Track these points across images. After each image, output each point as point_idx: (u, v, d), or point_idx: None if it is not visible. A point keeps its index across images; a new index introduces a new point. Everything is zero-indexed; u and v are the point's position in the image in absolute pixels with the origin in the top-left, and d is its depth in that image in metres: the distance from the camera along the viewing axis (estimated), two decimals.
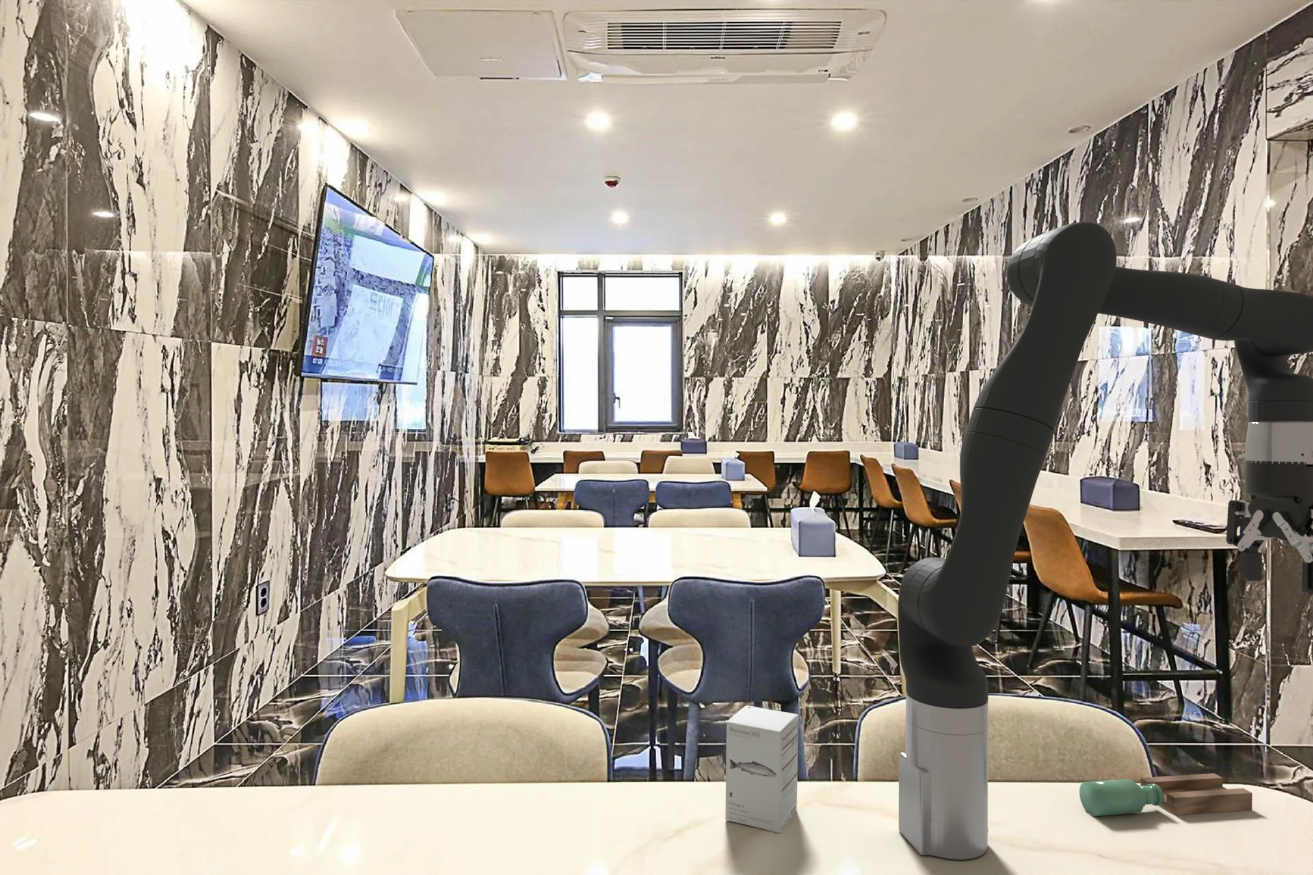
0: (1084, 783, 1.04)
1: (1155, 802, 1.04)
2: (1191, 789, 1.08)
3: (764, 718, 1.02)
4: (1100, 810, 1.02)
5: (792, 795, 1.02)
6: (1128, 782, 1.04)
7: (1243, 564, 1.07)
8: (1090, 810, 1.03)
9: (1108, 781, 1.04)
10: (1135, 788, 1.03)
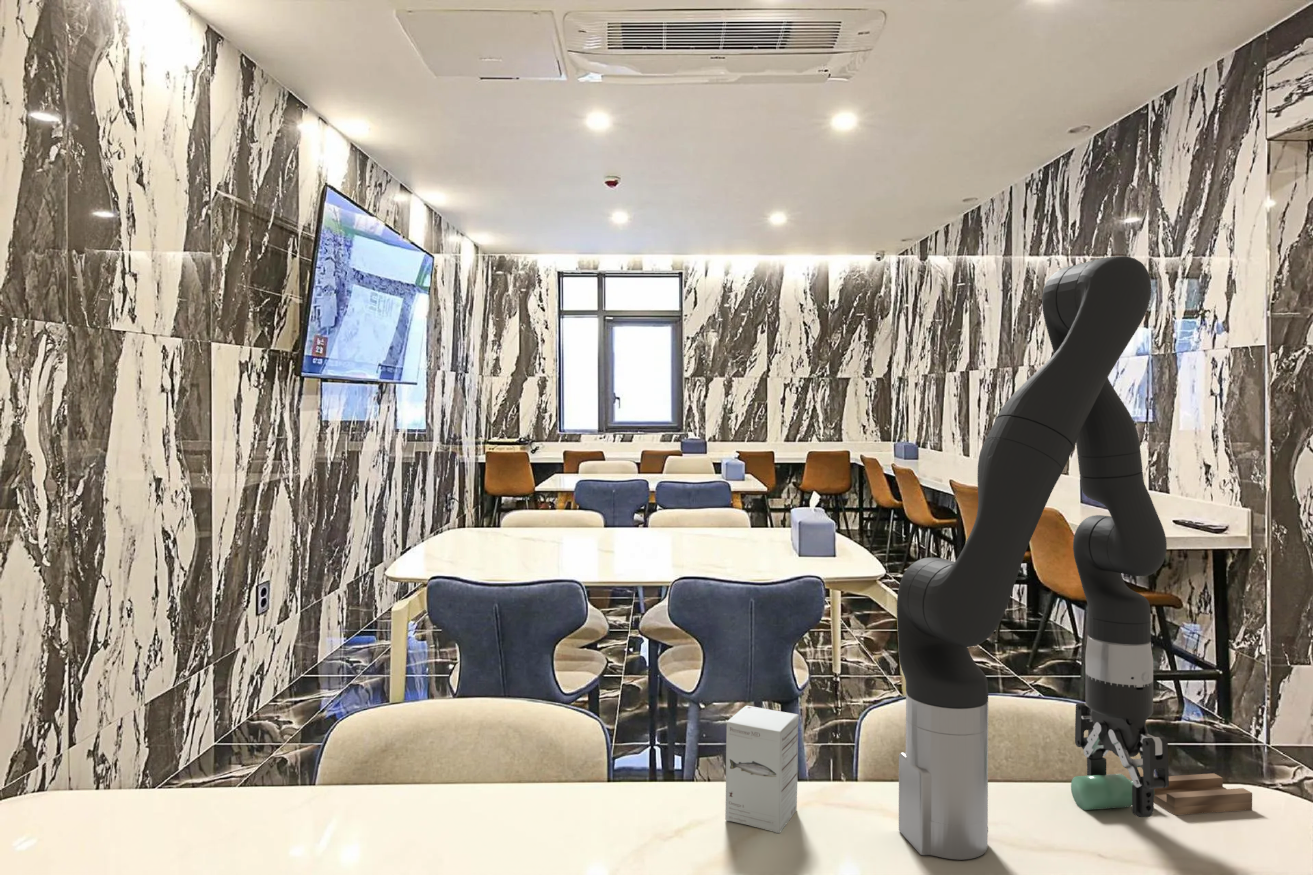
0: (1071, 785, 1.07)
1: None
2: (1191, 789, 1.08)
3: (764, 718, 1.02)
4: (1090, 790, 1.03)
5: (792, 795, 1.02)
6: None
7: (1088, 770, 1.08)
8: (1087, 803, 1.04)
9: None
10: (1117, 774, 1.06)
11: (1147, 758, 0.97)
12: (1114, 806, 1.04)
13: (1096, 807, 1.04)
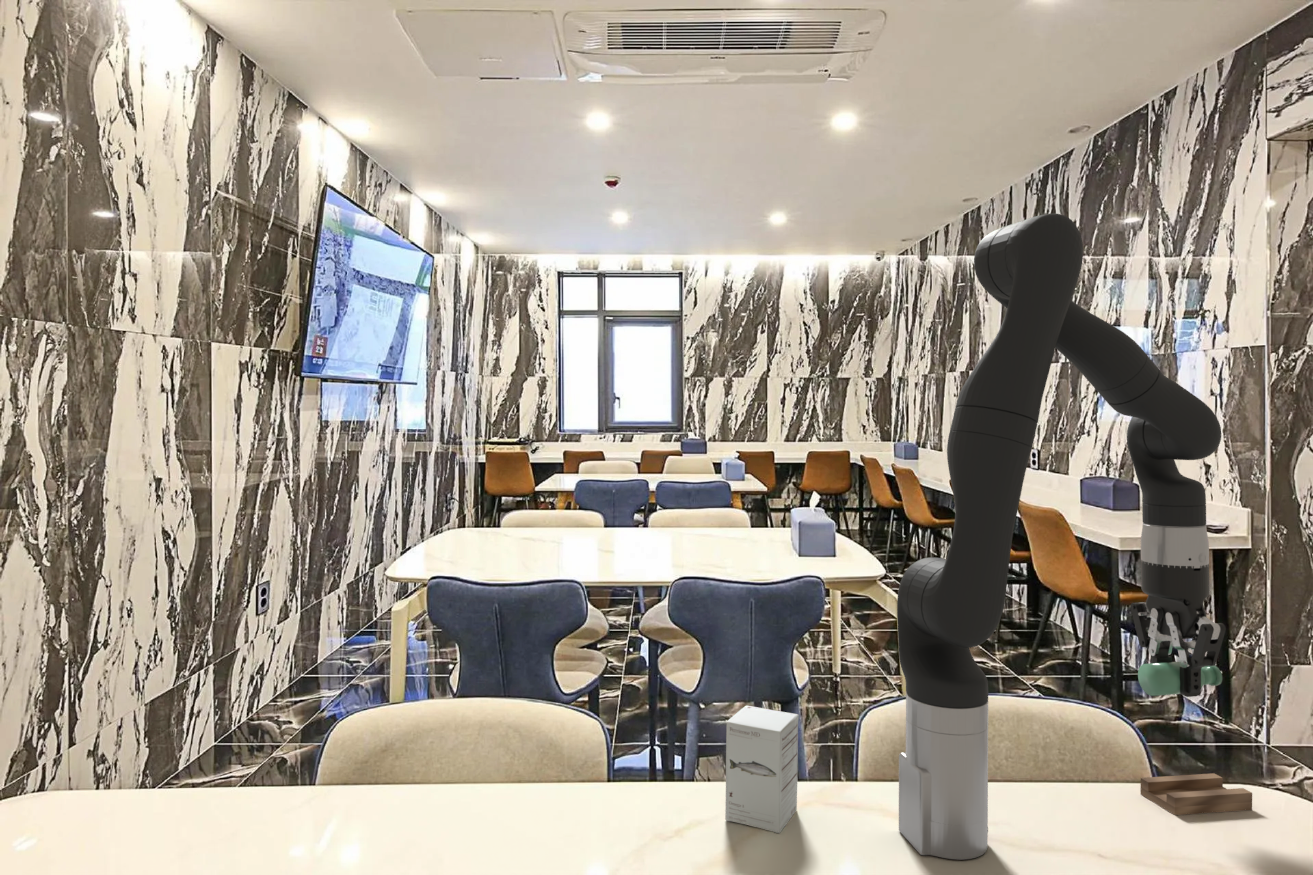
0: (1143, 665, 1.06)
1: (1213, 682, 1.06)
2: (1191, 789, 1.08)
3: (764, 718, 1.02)
4: (1161, 689, 1.04)
5: (792, 795, 1.02)
6: None
7: None
8: (1150, 691, 1.05)
9: (1166, 662, 1.06)
10: None
11: (1201, 641, 1.00)
12: None
13: None
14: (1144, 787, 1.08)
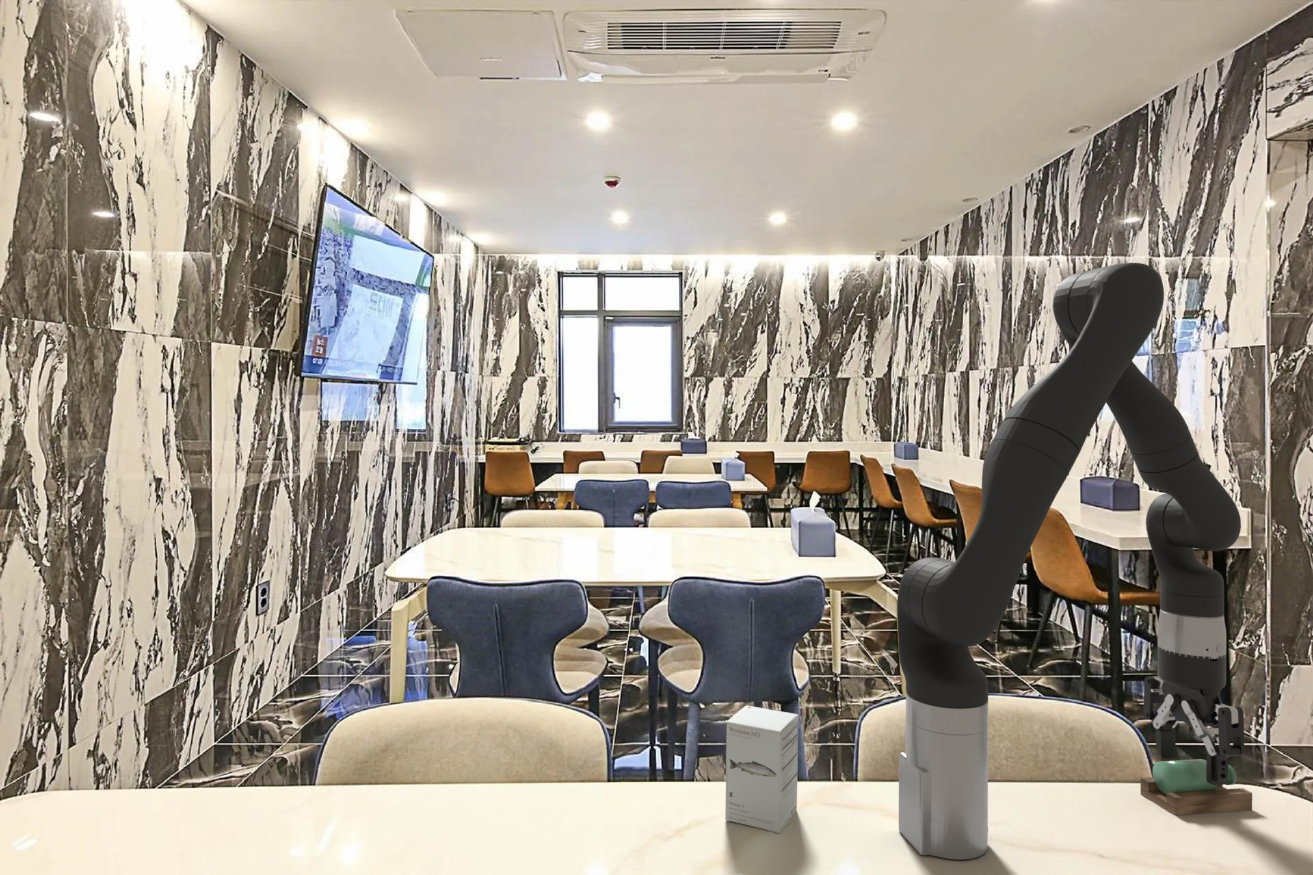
0: (1158, 763, 1.07)
1: (1227, 781, 1.06)
2: None
3: (764, 718, 1.02)
4: (1176, 788, 1.04)
5: (792, 795, 1.02)
6: (1201, 762, 1.06)
7: (1158, 741, 1.11)
8: (1164, 789, 1.06)
9: (1181, 761, 1.07)
10: None
11: (1223, 726, 1.00)
12: None
13: None
14: (1144, 787, 1.08)
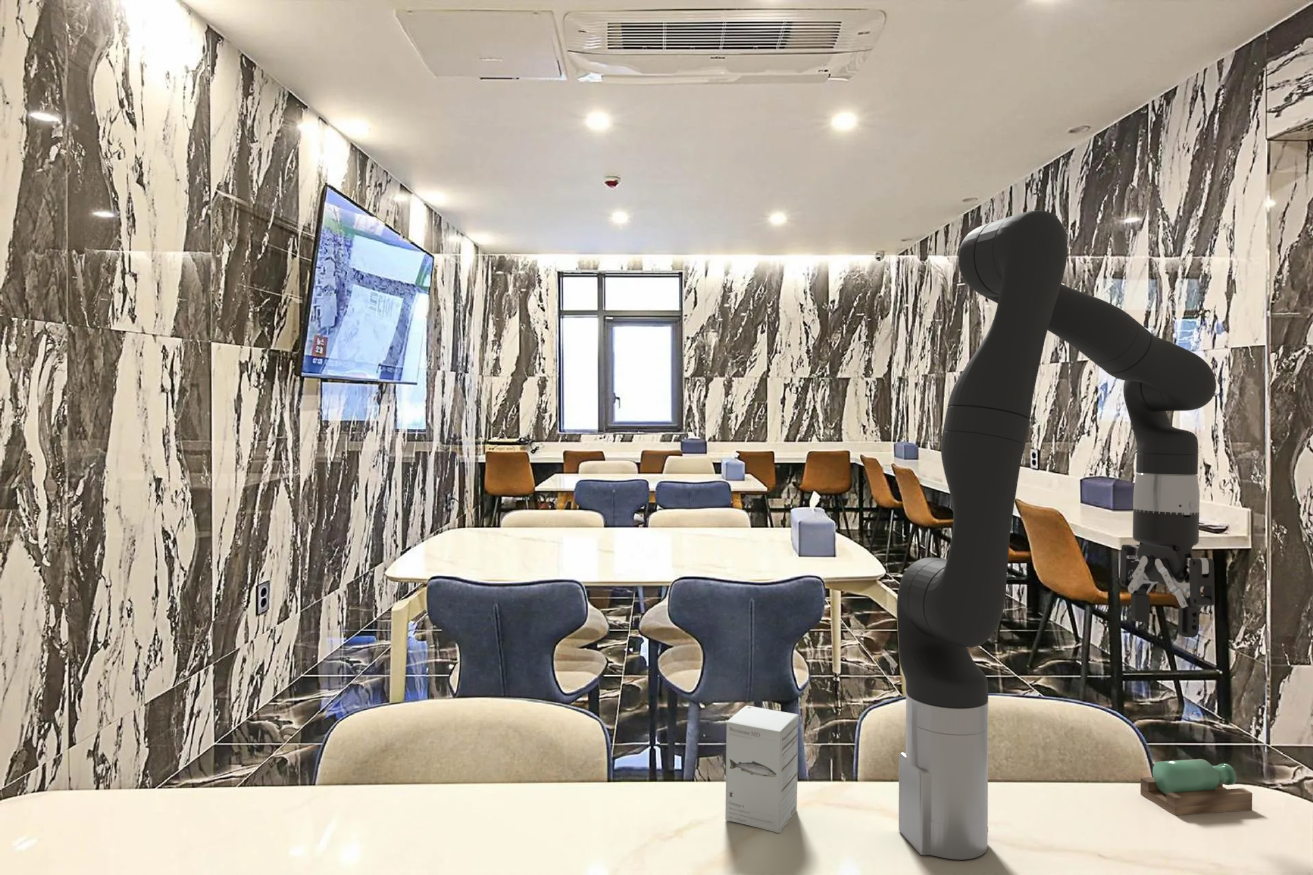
0: (1158, 763, 1.07)
1: (1227, 781, 1.06)
2: None
3: (764, 718, 1.02)
4: (1176, 788, 1.04)
5: (792, 795, 1.02)
6: (1201, 762, 1.06)
7: (1132, 605, 1.13)
8: (1164, 789, 1.06)
9: (1181, 761, 1.07)
10: (1209, 767, 1.06)
11: (1193, 576, 1.02)
12: None
13: None
14: (1144, 787, 1.08)
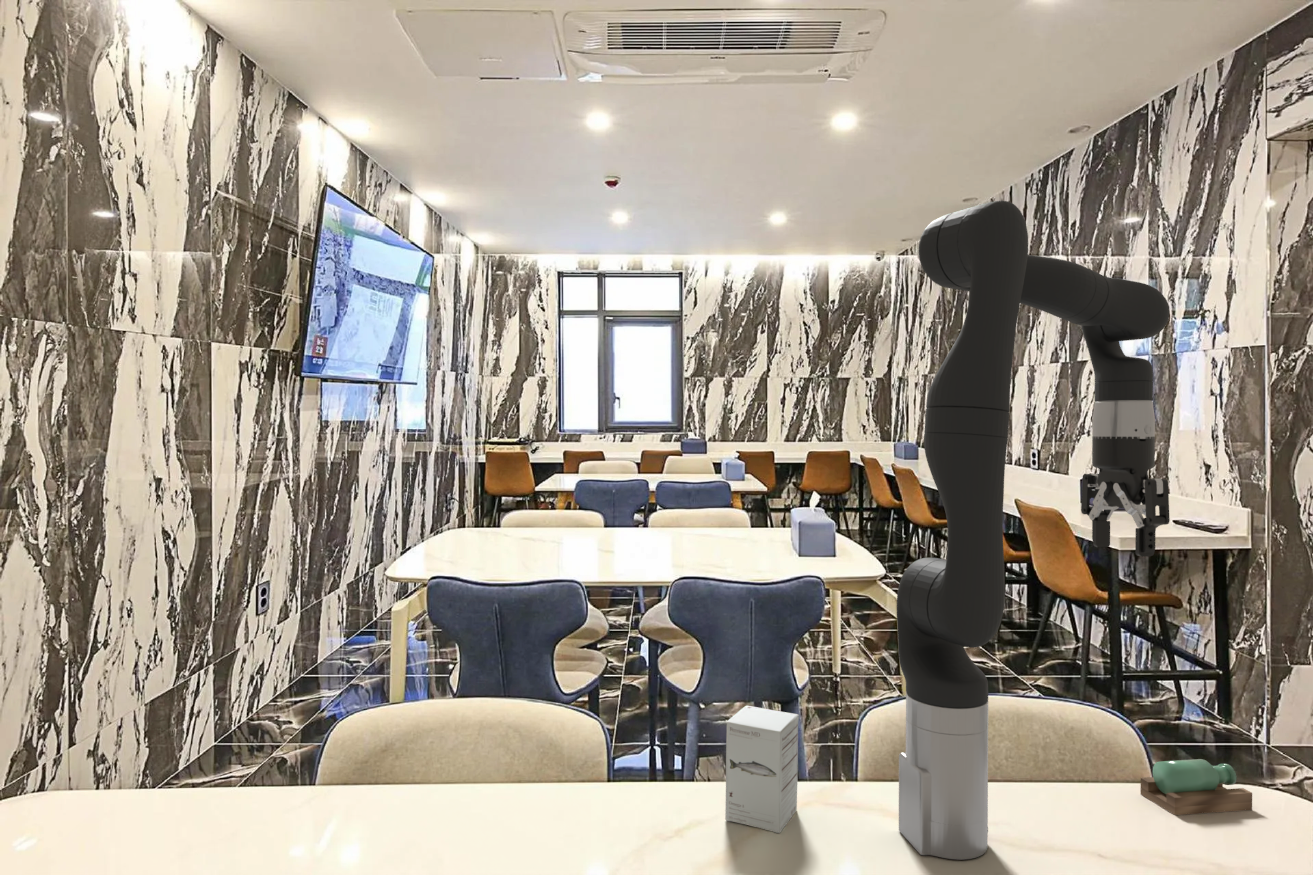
0: (1158, 763, 1.07)
1: (1227, 781, 1.06)
2: None
3: (764, 718, 1.02)
4: (1176, 788, 1.04)
5: (792, 795, 1.02)
6: (1201, 762, 1.06)
7: (1093, 532, 1.17)
8: (1164, 789, 1.06)
9: (1181, 761, 1.07)
10: (1209, 767, 1.06)
11: (1149, 496, 1.06)
12: None
13: None
14: (1144, 787, 1.08)
